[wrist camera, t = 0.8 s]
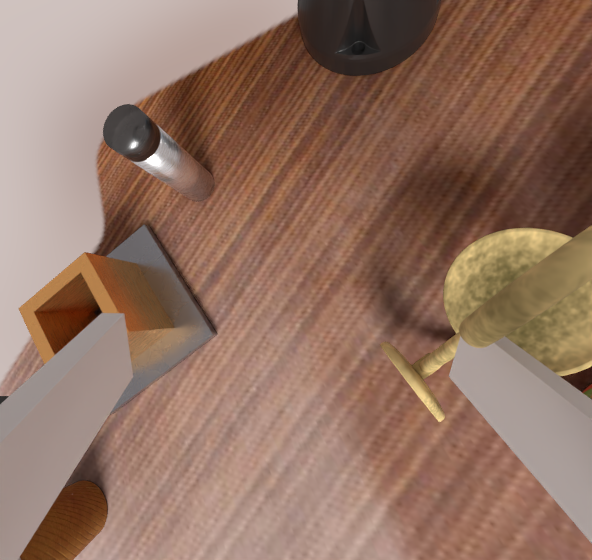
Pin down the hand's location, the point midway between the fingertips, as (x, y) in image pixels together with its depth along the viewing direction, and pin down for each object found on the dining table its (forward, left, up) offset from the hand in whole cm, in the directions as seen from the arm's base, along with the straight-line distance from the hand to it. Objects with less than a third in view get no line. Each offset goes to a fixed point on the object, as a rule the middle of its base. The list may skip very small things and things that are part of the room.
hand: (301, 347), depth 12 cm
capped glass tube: (+4, -23, -20) cm, 31 cm away
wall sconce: (-9, +8, -20) cm, 24 cm away
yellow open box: (+20, -15, -20) cm, 32 cm away
